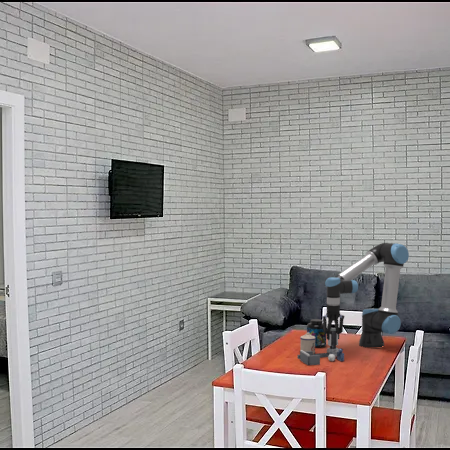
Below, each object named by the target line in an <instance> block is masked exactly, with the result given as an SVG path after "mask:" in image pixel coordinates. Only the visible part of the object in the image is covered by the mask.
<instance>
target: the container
mask: <svg viewBox="0 0 450 450" xmlns="http://www.w3.org/2000/svg"><path fill="white" fill-rule="evenodd" d="M306 333H310V335H312V336H314V337H315V338H316V339H315V349H321V348H322V349H323V348H325V347H326V346H327V334H326V333H324V332H323V319H318V318H312V319H310V322H308V323H307V325H306Z"/></svg>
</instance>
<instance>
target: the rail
mask: <svg viewBox="0 0 450 450" xmlns="http://www.w3.org/2000/svg"><path fill="white" fill-rule="evenodd" d="M313 355H320V359H321V358H322V359H323V358H328V356H329V353H327V352H319V353H313ZM296 358H297V360H300V354H297V357H296ZM335 358H337V356H335Z"/></svg>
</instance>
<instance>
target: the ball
mask: <svg viewBox="0 0 450 450" xmlns="http://www.w3.org/2000/svg"><path fill="white" fill-rule="evenodd" d="M327 358H328V361H330V362H334V361H335V360H336V357H335V355H333V354H330V355H329V356H328V357H327Z"/></svg>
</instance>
